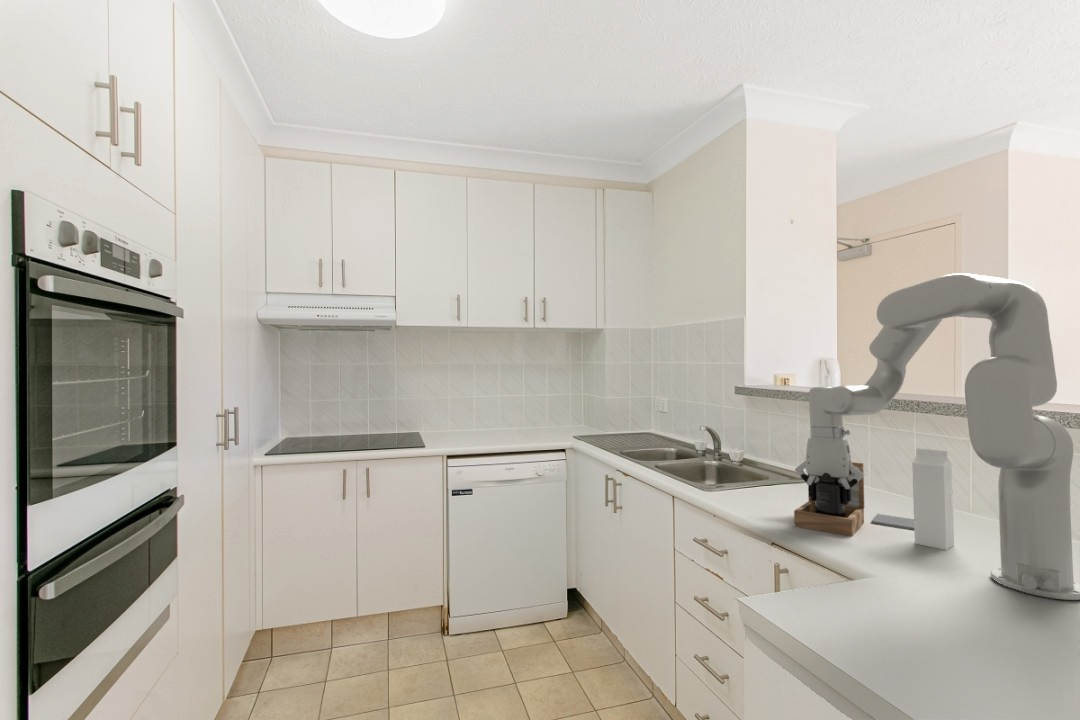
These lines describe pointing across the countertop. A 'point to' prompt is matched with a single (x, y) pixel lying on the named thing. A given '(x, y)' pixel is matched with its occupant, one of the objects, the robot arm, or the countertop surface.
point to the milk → (933, 499)
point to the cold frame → (835, 524)
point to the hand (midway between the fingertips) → (829, 501)
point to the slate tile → (894, 521)
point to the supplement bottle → (829, 496)
